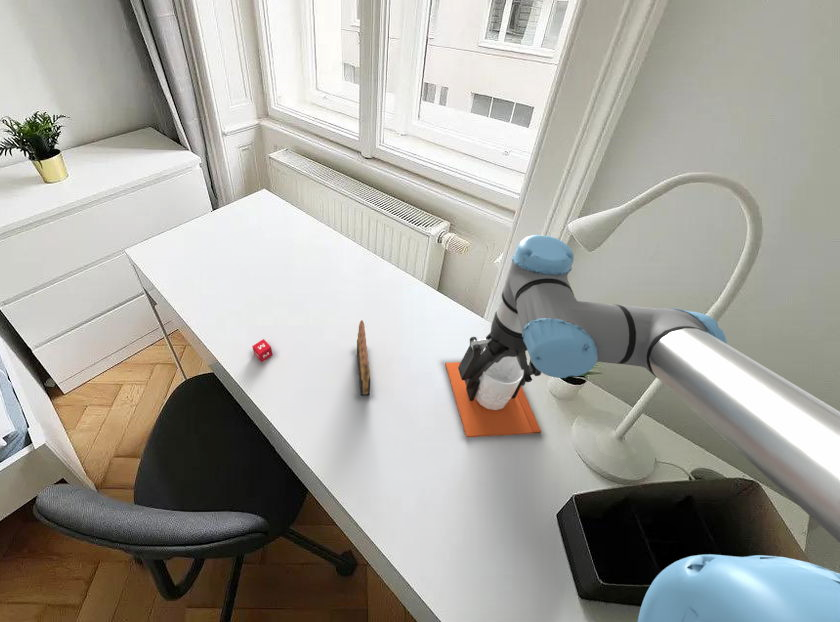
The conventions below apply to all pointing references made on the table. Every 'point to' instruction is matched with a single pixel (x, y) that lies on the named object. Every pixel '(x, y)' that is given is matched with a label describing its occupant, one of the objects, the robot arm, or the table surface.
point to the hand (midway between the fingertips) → (490, 393)
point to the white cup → (499, 383)
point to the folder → (491, 412)
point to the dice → (262, 350)
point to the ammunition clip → (363, 361)
